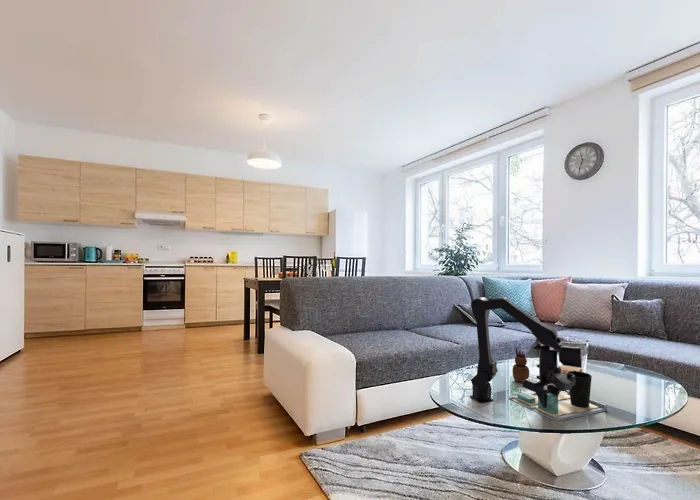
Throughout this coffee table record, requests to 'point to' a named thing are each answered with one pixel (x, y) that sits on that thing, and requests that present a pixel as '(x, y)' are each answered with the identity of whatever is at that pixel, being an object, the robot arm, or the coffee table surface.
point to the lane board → (601, 408)
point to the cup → (580, 389)
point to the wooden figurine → (520, 367)
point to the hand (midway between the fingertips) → (548, 406)
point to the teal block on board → (561, 407)
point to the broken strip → (533, 399)
